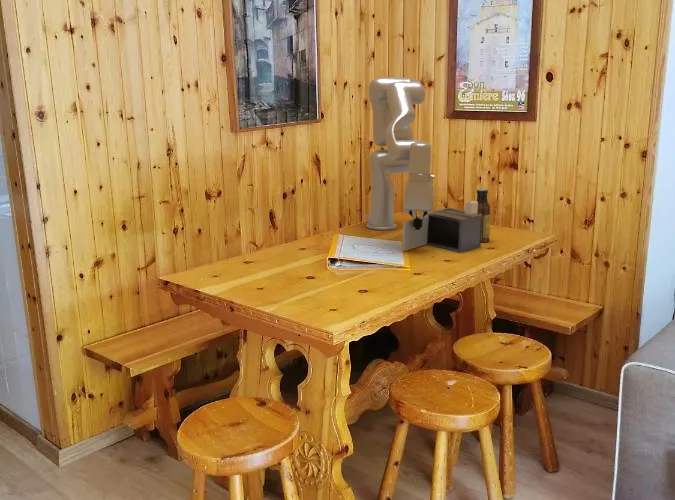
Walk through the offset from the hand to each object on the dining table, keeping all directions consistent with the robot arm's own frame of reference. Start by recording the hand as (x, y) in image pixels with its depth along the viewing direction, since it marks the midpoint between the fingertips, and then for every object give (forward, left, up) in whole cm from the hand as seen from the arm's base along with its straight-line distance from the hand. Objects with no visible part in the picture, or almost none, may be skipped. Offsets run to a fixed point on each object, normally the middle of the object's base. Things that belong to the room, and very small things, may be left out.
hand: (417, 229), depth 254 cm
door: (-4, +3, -8) cm, 9 cm away
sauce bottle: (+5, +30, -8) cm, 32 cm away
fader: (+8, +19, +4) cm, 21 cm away
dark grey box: (+3, +16, -8) cm, 19 cm away
